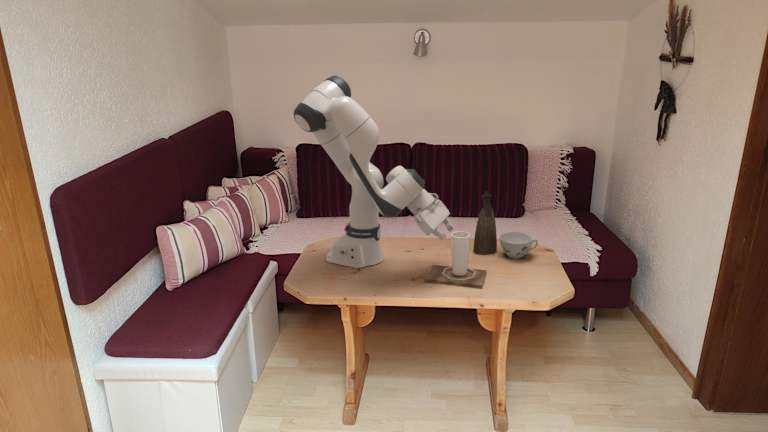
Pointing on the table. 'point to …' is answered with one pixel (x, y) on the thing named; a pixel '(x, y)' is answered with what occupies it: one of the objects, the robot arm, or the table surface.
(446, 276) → the walnut board
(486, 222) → the statue
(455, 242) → the drinking glass
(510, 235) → the teacup
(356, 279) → the table surface
